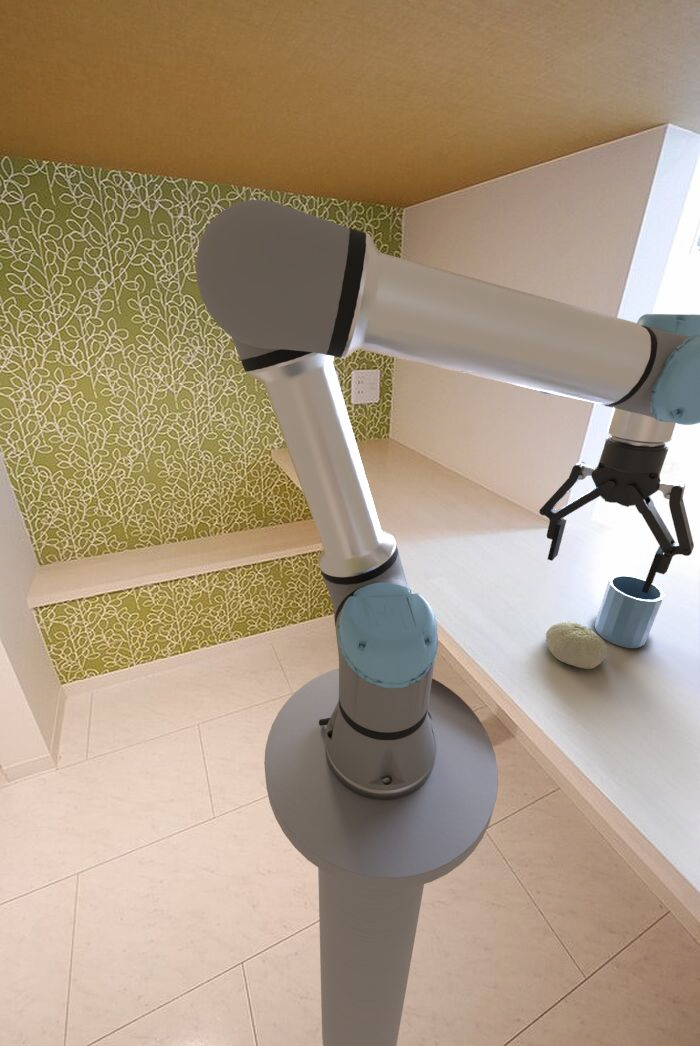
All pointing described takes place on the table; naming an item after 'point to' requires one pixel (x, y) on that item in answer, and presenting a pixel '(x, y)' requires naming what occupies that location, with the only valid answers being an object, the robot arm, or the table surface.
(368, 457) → the table surface
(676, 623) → the table surface
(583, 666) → the sea urchin shell
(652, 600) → the tumbler
